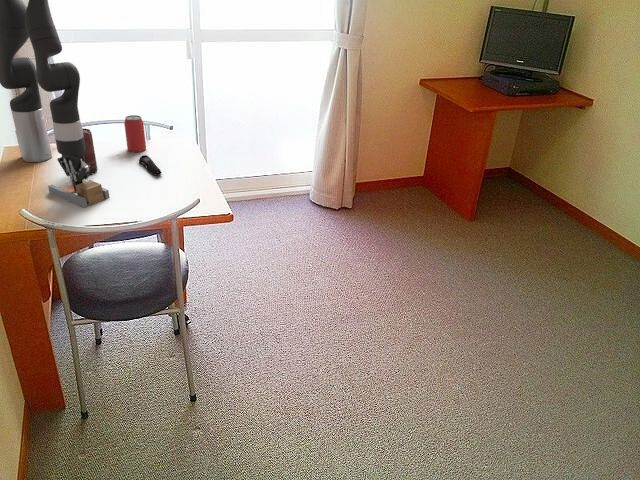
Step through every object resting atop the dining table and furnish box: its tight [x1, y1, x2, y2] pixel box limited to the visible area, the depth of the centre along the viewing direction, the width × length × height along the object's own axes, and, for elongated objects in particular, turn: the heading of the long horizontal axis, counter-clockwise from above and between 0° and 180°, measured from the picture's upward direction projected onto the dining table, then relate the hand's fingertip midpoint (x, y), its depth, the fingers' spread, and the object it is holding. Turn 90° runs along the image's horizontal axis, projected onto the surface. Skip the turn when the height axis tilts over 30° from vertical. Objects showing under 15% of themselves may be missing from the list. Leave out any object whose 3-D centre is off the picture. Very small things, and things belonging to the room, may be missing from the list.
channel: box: [47, 179, 110, 209], centre depth 163 cm, size 16×9×2 cm, turn 58°
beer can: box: [123, 114, 147, 153], centre depth 196 cm, size 7×7×12 cm
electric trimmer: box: [138, 154, 163, 176], centre depth 184 cm, size 4×16×3 cm, turn 34°
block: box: [76, 179, 105, 206], centre depth 160 cm, size 5×5×5 cm
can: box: [82, 128, 98, 176], centre depth 176 cm, size 6×6×14 cm
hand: (79, 190), depth 163 cm, fingers closed
